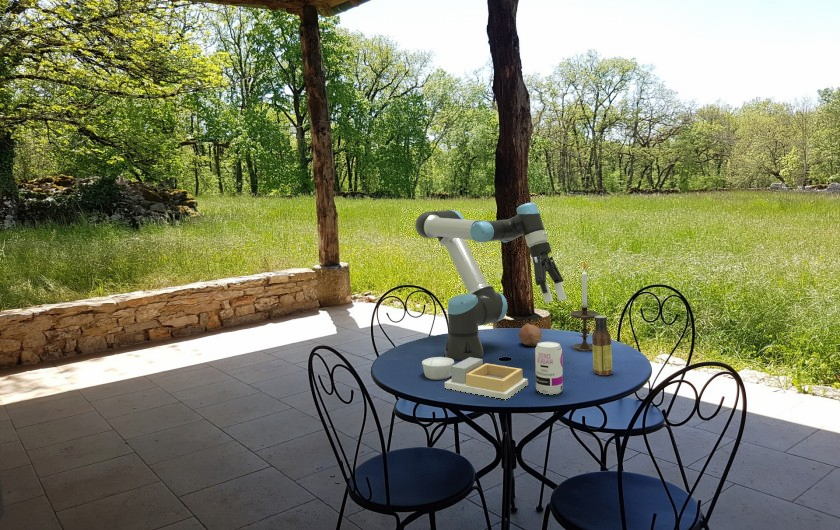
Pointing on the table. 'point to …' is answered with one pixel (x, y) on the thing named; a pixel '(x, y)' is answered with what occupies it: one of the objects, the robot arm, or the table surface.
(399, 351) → the table surface
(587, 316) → the candlestick
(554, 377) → the supplement can
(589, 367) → the table surface
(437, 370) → the ramekin
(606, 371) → the sauce bottle
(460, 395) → the table surface
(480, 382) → the tan-rimmed shallow tray
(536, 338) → the onion
